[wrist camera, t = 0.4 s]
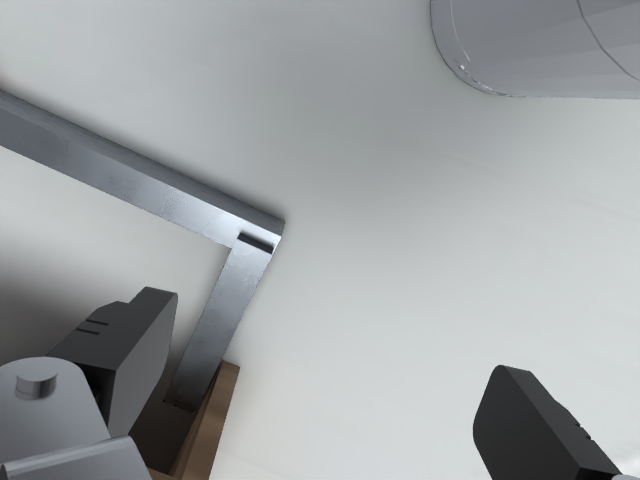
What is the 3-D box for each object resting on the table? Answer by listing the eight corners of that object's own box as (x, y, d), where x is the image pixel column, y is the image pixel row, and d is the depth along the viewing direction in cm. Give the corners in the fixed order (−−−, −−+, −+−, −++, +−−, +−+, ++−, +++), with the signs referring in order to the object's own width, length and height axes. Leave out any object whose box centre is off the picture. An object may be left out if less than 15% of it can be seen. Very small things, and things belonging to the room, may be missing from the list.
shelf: (-16, 262, 29) (-211, 363, 18) (240, 367, 31) (199, 511, 21) (-68, 443, 33) (-253, 612, 22) (161, 524, 35) (93, 712, 25)
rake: (-96, 33, 25) (-218, 16, 19) (289, 213, 28) (281, 244, 22) (-137, 234, 28) (-252, 270, 23) (211, 375, 31) (187, 438, 26)
